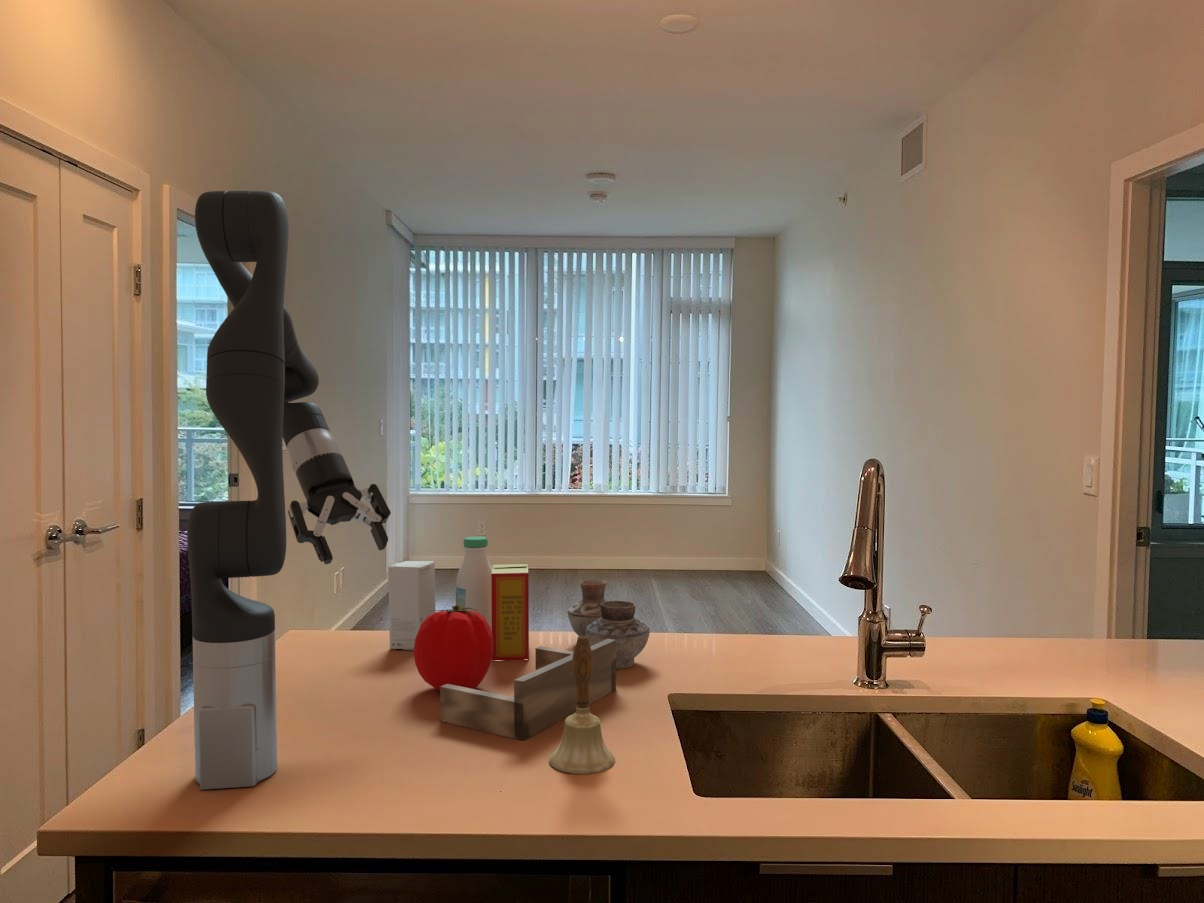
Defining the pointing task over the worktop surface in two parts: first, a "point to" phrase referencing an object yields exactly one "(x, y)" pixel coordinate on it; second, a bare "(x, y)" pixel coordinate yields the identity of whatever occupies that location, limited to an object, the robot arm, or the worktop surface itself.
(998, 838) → the worktop surface
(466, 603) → the milk bottle
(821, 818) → the worktop surface
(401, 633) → the skincare box
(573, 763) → the hand bell
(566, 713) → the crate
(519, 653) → the baking soda box
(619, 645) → the pottery
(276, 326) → the robot arm
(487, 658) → the tomato
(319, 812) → the worktop surface
